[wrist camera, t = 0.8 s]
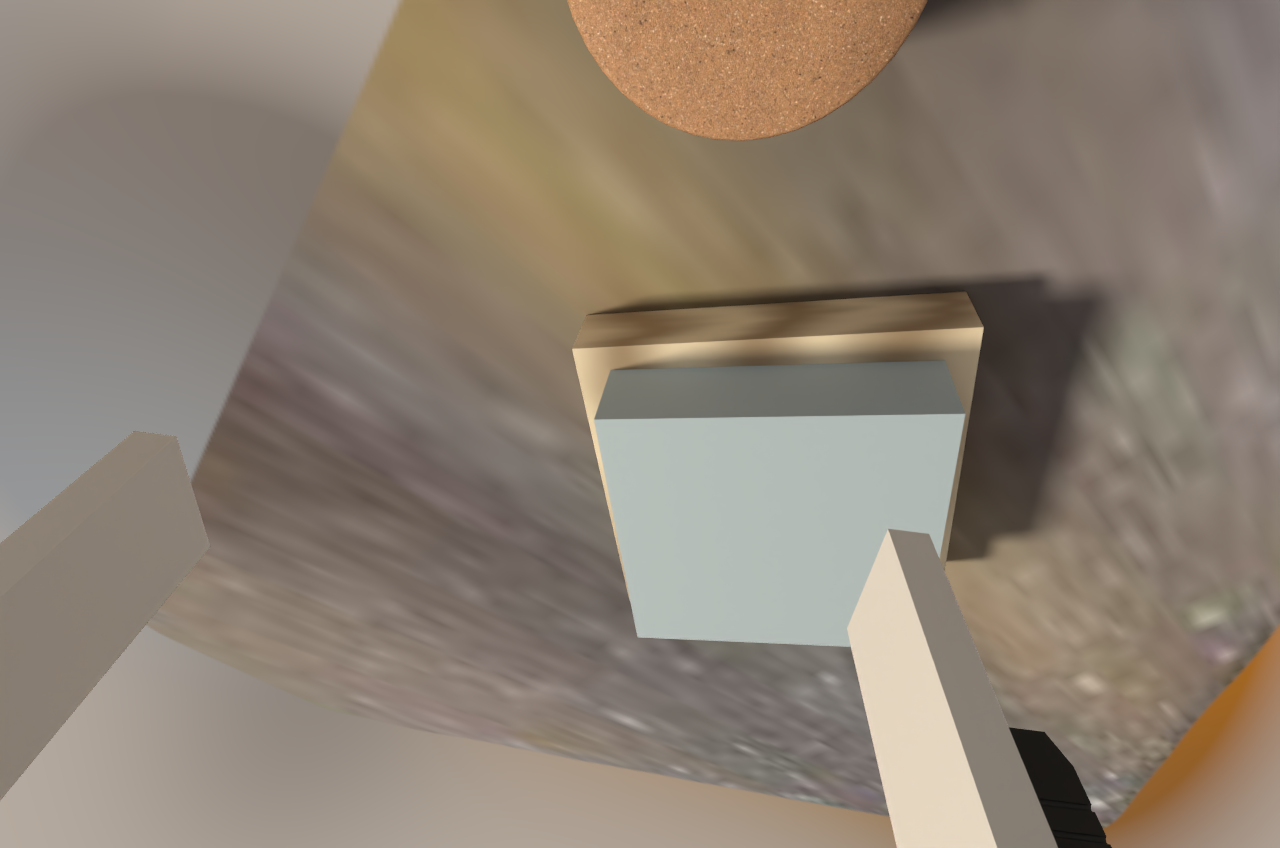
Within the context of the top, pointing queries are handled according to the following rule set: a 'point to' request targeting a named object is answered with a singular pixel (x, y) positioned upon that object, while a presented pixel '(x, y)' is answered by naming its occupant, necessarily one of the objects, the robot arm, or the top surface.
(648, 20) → the lidded jar
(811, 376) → the tower top
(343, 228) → the top surface
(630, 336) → the tower base
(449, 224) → the top surface
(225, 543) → the top surface
